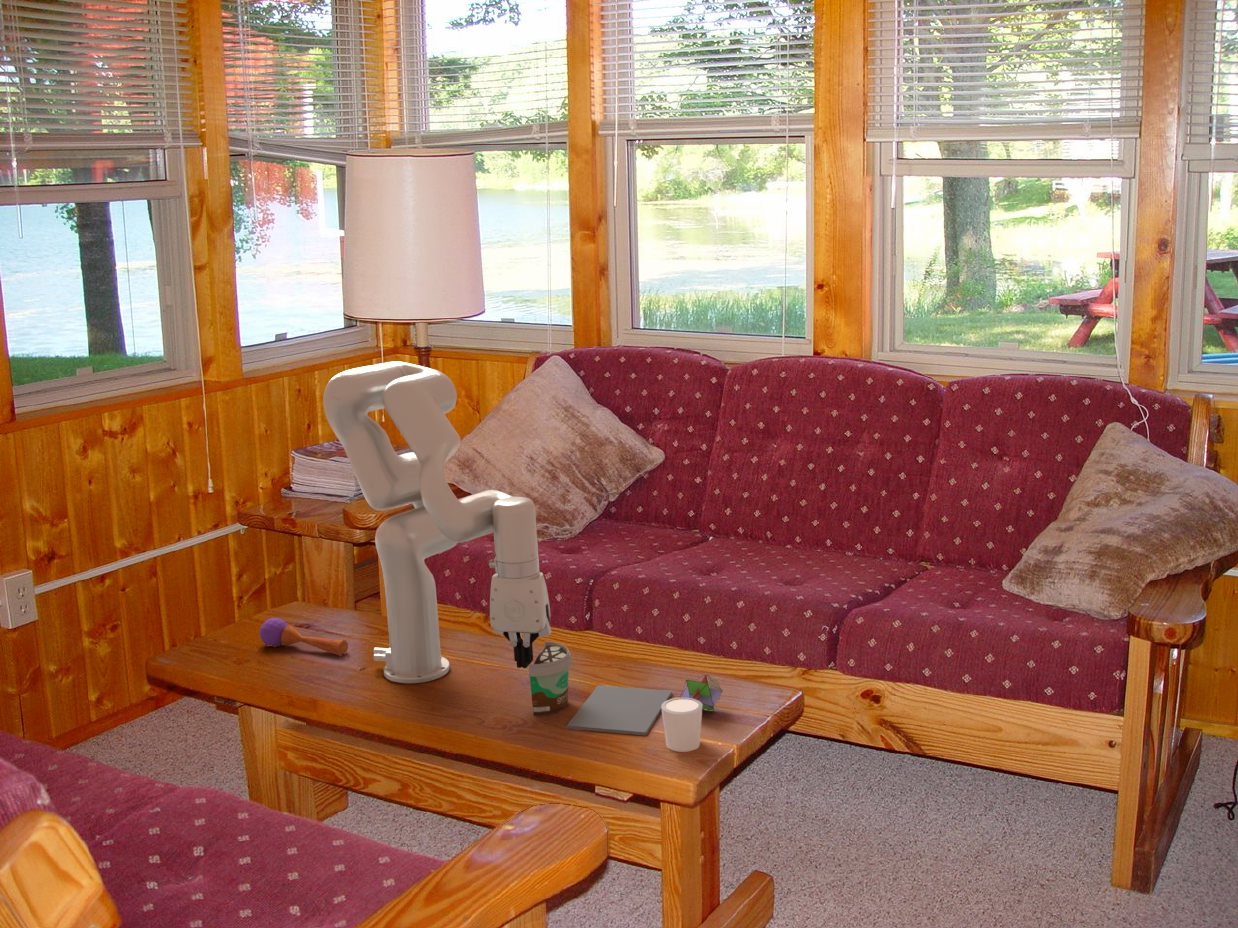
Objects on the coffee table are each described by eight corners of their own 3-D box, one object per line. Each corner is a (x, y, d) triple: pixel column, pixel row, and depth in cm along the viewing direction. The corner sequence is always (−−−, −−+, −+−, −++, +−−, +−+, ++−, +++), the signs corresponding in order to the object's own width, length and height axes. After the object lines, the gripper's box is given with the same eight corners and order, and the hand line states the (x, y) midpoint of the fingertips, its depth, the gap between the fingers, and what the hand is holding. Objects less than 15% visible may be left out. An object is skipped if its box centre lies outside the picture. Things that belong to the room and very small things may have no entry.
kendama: (332, 643, 263) (251, 624, 271) (336, 668, 265) (256, 649, 273) (349, 628, 268) (270, 610, 276) (353, 653, 270) (274, 634, 278)
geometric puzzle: (705, 715, 226) (716, 670, 228) (669, 709, 229) (680, 664, 232) (720, 726, 232) (730, 682, 234) (684, 719, 235) (695, 676, 237)
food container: (565, 720, 231) (562, 666, 229) (531, 719, 233) (528, 665, 230) (581, 692, 243) (578, 641, 241) (548, 691, 244) (545, 640, 242)
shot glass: (668, 733, 224) (666, 695, 223) (708, 737, 222) (706, 698, 221) (657, 751, 218) (656, 711, 216) (698, 755, 216) (697, 715, 214)
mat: (567, 728, 228) (566, 725, 228) (598, 688, 245) (598, 685, 245) (645, 735, 224) (645, 732, 224) (671, 693, 241) (671, 690, 241)
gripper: (470, 571, 232) (477, 670, 236) (550, 575, 228) (556, 675, 232) (486, 559, 239) (493, 655, 243) (564, 562, 235) (570, 660, 239)
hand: (524, 665), depth 238 cm, fingers closed
